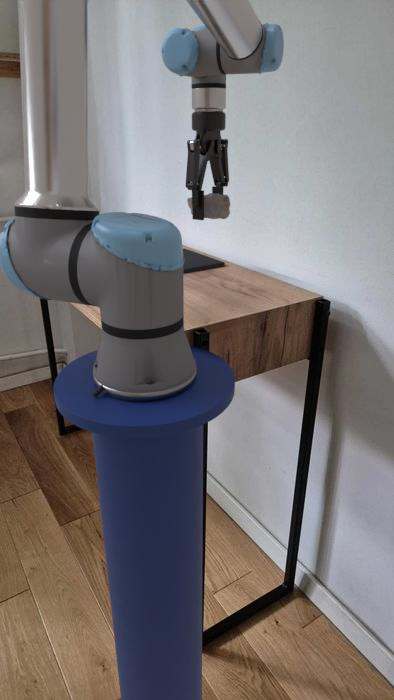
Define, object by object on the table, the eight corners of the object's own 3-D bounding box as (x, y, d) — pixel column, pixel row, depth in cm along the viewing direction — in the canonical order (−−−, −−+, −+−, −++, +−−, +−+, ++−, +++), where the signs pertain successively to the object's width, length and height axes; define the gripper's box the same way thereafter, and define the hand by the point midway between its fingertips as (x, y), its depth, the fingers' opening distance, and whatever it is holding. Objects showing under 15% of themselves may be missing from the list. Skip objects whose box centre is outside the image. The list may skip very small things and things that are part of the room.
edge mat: (224, 266, 127) (224, 262, 127) (179, 273, 120) (179, 269, 120) (184, 251, 143) (184, 248, 142) (142, 257, 136) (142, 254, 135)
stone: (234, 216, 118) (234, 191, 116) (225, 221, 112) (225, 195, 109) (196, 214, 121) (196, 189, 119) (185, 219, 114) (184, 193, 112)
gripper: (218, 112, 116) (217, 210, 126) (166, 110, 100) (169, 221, 110) (246, 111, 112) (242, 212, 122) (196, 109, 97) (197, 225, 106)
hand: (208, 216), depth 116 cm, fingers closed on stone, 8 cm apart
